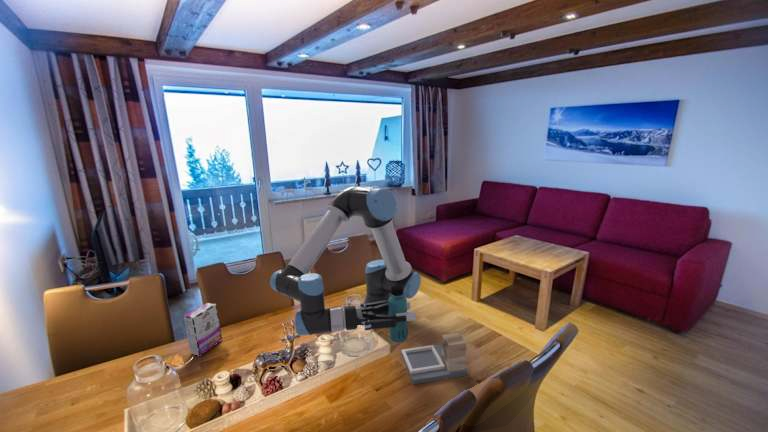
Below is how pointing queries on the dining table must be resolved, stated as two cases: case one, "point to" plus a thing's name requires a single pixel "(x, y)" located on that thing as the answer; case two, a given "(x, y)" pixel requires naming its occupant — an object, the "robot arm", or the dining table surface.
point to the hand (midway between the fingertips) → (412, 310)
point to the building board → (427, 364)
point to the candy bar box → (203, 328)
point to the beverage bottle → (396, 306)
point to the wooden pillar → (453, 352)
